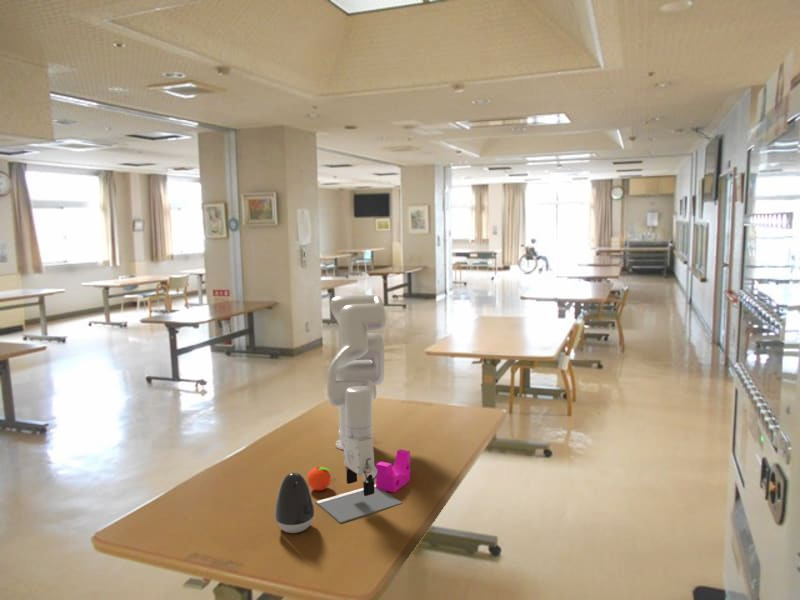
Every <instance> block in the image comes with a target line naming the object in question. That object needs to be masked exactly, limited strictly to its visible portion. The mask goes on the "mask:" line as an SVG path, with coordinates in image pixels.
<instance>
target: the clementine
mask: <svg viewBox="0 0 800 600" xmlns="http://www.w3.org/2000/svg"><path fill="white" fill-rule="evenodd" d="M331 474H332V475H333V476H334V473H333V472H332V470H331V469H329V468H328V467H324V466H315V467H314V468H312V469H311V470H310V471H309V472H308V476H307V482H308V483H307V484H308V486H309V487H310V488H311V489H313V490H314V491H318V492H320V491H324V490H325V489H327V487H328V486H330V484H331V479H332V475H331Z"/></svg>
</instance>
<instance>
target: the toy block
mask: <svg viewBox="0 0 800 600" xmlns="http://www.w3.org/2000/svg"><path fill="white" fill-rule="evenodd" d="M375 467H376V469H377V474H376V478H375V481H376V482H375V484H376V488H377V489H381V490H384V491H386V492H389V493H396V492H397V491H398V490H400V489H401V488H402V487H403V486H405V485H406V484H407V483H408V482H410V480H411V451H410V450H407V449H398V450H396V456H395V459H394V462H393V464H392V463H390V462H384V461H379V462H377V463H376V464H375Z"/></svg>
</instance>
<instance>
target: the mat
mask: <svg viewBox="0 0 800 600" xmlns="http://www.w3.org/2000/svg"><path fill="white" fill-rule="evenodd" d="M315 503H316V504H317V505H318V506H319V507H320V508H322V510H324V511H325V512H326V513H327V514H328V515H329V516H331V517H332V518H333V519H335V520H336V521H337V522H338V523H339V524H340V523H341V524H344V523H346V522H350V521H353V520H356V519H359V518H362V517H366V516H369V515H372V514H374V513H378V512H381V511H383V510H386V509H389V508H393V507H396V506H399V505H402V504H403V502H402V501H401V500H399V499H397V498H396V497H394V496H393V495H392V494H390V492H388V491H385V490H381V489H377V488H376V483H374V494H371V495H368V496H364V489H363V487H362V488H358V489H355V490H351V491H348V492H344V493H339V494H337V495H334V496H333V495H332V496H330V497H327V498H324V499H319V500H317V501H315Z"/></svg>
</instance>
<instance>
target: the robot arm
mask: <svg viewBox="0 0 800 600" xmlns="http://www.w3.org/2000/svg"><path fill="white" fill-rule="evenodd" d="M329 303H330V304H329V305H330V306H329V307H330V312H331V313H332V315H333V317H334V318H335V320H336V322H337V324H338V352H337V354H335V356H334V357H333V358H332V359H331V361H330V364H329V366H328V368H327V373H326V394H327V395H326V396H327V400H328V403H329V404H330V405H331V406H333V407H337V408H338V416H339V417H338V420H339V421H338V422H339V427H338V428H339V430H338V431H337V434H338V435H339V439H338V440H336V441H335V447H336V448H337V449H339V450H341V451H343V452H342V454H343V465H344V466H345V470H346V474H345V475H346V484H347V485H349V484H354V483H357V482H358V475H359V476H361V475H362V477H363V480H364V481H363V483H362V485H363V487H362V488H363V489H364V496H368V495H371V494H374V485H375V481H376V474H377V469H376V465H375V454H374V452H375V451H374V444H373V443H374V442H373V438H372V437H373V403H374V401H375V400H376V398H377V386H380V385H381V384H382V383H383V381H384V379H385V378H384V377H385V343H384V342H385V341H384V339H383V337H382V335H381V333H380V334H379V333H377V332H368V331H376V330H377V331H379V330H383V329H384V327H385V325H386V320H387V315H386V314H387V313H386V309H385V305H384V303H383V299H382V298H381V296H379V295H370V294H369V295H367V294H365V295H337V296H334V297H333V298H331V300H330V302H329ZM367 474H369V475H368V476H367Z"/></svg>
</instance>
